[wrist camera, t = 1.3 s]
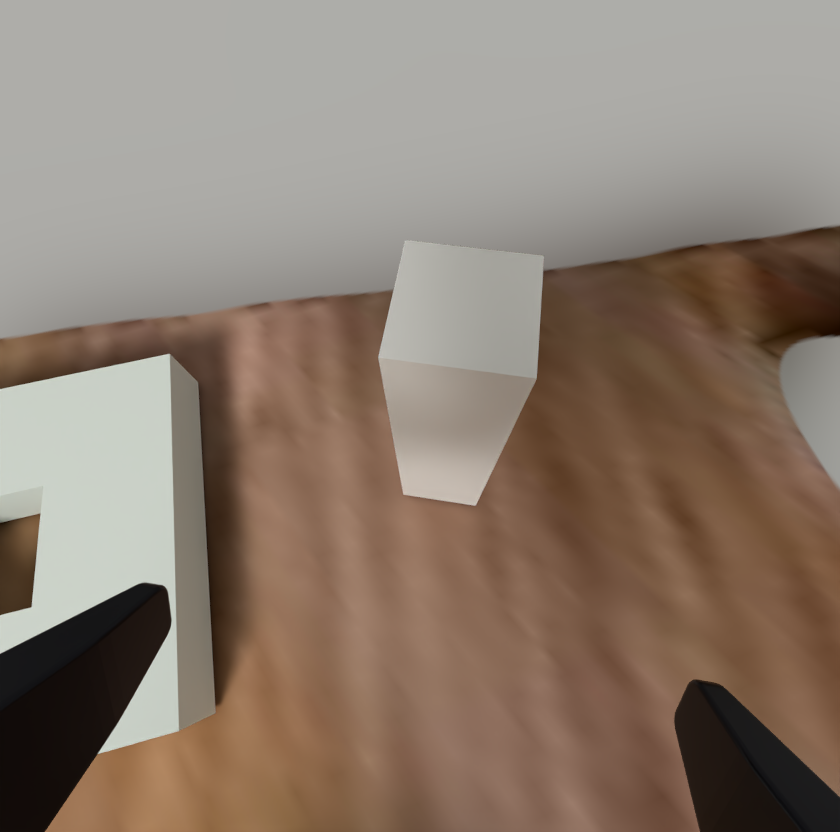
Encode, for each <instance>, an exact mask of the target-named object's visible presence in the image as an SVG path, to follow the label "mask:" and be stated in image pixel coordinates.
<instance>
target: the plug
mask: <svg viewBox="0 0 840 832" xmlns="http://www.w3.org/2000/svg"><path fill="white" fill-rule="evenodd" d="M543 265H544V256H543V255H534V254H525V253H516V252H508V251H498V250H490V249H481V248H472V247H463V246H454V245H445V244H436V243H427V242H419V241H410V240H405V242H404V246H403V251H402V255H401V260H400V264H399V268H398V273H397V277H396V282H395V286H394V290H393V295H392V299H391V304H390V308H389V312H388V317H387V321H386V326H385V330H384V334H383V339H382V343H381V348H380V352H379V356H378V359H379V364H380V370H381V375H382V381H383V386H384V392H385V397H386V403H387V408H388V414H389V419H390V424H391V430H392V435H393V441H394V446H395V452H396V457H397V463H398V468H399V473H400V479H401V484H402V490H403V495H409V496H416V497H422V498H429V499H435V500H442V501H448V502H455V503H461V504H468V505H474V506H476V504H477V502H478V500H479V498H480V496H481V493H482V491H483V489H484V487H485V485H486V483H487V481H488V479H489V477H490V475H491V473H492V471H493V469H494V466H495V464H496V462H497V460H498V458H499V456H500V454H501V452H502V450H503V448H504V446H505V444H506V441H507V439H508V437H509V435H510V433H511V431H512V429H513V427H514V425H515V423H516V421H517V419H518V416H519V414H520V412H521V410H522V408H523V406H524V404H525V402H526V400H527V398H528V396H529V394H530V391H531V389H532V387H533V385H534V383H535V381H536V379H537V365H538V348H539V332H540V315H541V298H542V282H543Z"/></svg>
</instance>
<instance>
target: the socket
mask: <svg viewBox="0 0 840 832" xmlns="http://www.w3.org/2000/svg"><path fill="white" fill-rule="evenodd" d="M40 513H41V515H40V526H39V536H38V546H37V556H36V567H35V577H34V587H33V598H32V607H31V608H27V609H23V610H19V611H15V612H11V613H7V614H3V615H0V653H2V652H4V651H6V650H8V649H10V648H12V647H14V646H16V645H18V644H20V643H22V642H24V641H26V640H28V639H30V638H32V637H34V636H36V635H38V634H40V633H42V632H44V631H46V630H48V629H50V628H52V627H54V626H56V625H58V624H60V623H62V622H64V621H66V620H68V619H70V618H72V617H74V616H76V615H77V614H79V613H81V612H83V611H85V610H87V609H89V608H91V607H93V606H95V605H97V604H99V603H101V602H103V601H105V600H107V599H109V598H111V597H113V596H115V595H117V594H119V593H121V592H123V591H125V590H127V589H129V588H131V587H133V586H135V585H137V584H139V583H144V582H147V583H153V584H159V585H163V586H165V587H166V589H167V590H168V595H169V603H170V610H171V617H172V622H171V628H170V631H169V633H168V635H167V637H166V639H165V641H164V643H163V644H162V646H161V648H160V650H159V651H158V653H157V655H156V657H155V659H154V660H153V662H152V664H151V666H150V668H149V669H148V671H147V673H146V675H145V676H144V678H143V680H142V682H141V684H140V685H139V687H138V689H137V691H136V692H135V694H134V696H133V698H132V700H131V701H130V703H129V705H128V707H127V709H126V710H125V712H124V714H123V715H122V717H121V719H120V720H119V722H118V724H117V725H116V727H115V728H114V730H113V732H112V733H111V735H110V736H109V738H108V739H107V741H106V742H105V744H104V745H103V747H102V748H101V750H100V751H99V753H103V752H106V751H110V750H113V749H117V748H120V747H124V746H127V745H131V744H134V743H138V742H142V741H145V740H149V739H152V738H156V737H159V736H163V735H166V734H170V733H173V732H177V731H180V730H182V729H184V728H186V727H188V726H190V725H192V724H194V723H196V722H198V721H200V720H202V719H205V718H207V717H209V716H211V715H213V714H215V713H216V711H215V692H214V673H213V654H212V635H211V616H210V597H209V578H208V559H207V540H206V521H205V502H204V484H203V465H202V446H201V427H200V408H199V389H198V382H197V381H196V380H195V379H194V378H193V377H192V376H191V375H190V374H189V373H188V372H187V371H186V370H185V369H184V368H183V367H182V366H181V365H180V364H179V363H178V362H177V361H176V359H175V358H174V357H173V356H172V355H171V354H166V355H161V356H157V357H152V358H147V359H142V360H137V361H133V362H128V363H123V364H118V365H114V366H109V367H104V368H99V369H94V370H90V371H85V372H80V373H75V374H70V375H66V376H61V377H56V378H51V379H47V380H42V381H37V382H32V383H27V384H23V385H18V386H13V387H8V388H3V389H0V523H1V522H6V521H10V520H14V519H18V518H23V517H27V516H31V515H35V514H40ZM99 753H98V754H99Z"/></svg>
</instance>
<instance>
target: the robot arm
mask: <svg viewBox="0 0 840 832" xmlns="http://www.w3.org/2000/svg"><path fill="white" fill-rule="evenodd" d="M171 622H172V617H171V610H170V603H169V595H168V590H167V589H166V587H165V586H163V585H159V584H153V583H147V582H144V583H139V584H137V585H135V586H133V587H131V588H129V589H127V590H125V591H123V592H121V593H119V594H117V595H115V596H113V597H111V598H109V599H107V600H105V601H103V602H101V603H99V604H97V605H95V606H93V607H91V608H89V609H87V610H85V611H83V612H81V613H79V614H77V615H76V616H74V617H72V618H70V619H68V620H66V621H64V622H62V623H60V624H58V625H56V626H54V627H52V628H50V629H48V630H46V631H44V632H42V633H40V634H38V635H36V636H34V637H32V638H30V639H28V640H26V641H24V642H22V643H20V644H18V645H16V646H14V647H12V648H10V649H8V650H6V651H4V652H2V653H0V832H45V831H46V829H47V828H48V826H49V825H50V823H51V822H52V820H53V819H54V817H55V816H56V814H57V813H58V812H59V810H60V809H61V807H62V806H63V804H64V803H65V801H66V800H67V798H68V797H69V795H70V794H71V792H72V791H73V789H74V788H75V786H76V785H77V784H78V782H79V781H80V779H81V778H82V776H83V775H84V773H85V772H86V770H87V769H88V767H89V766H90V764H91V763H92V761H93V760H94V758H95V757H96V756H97V754H98V753H99V751H100V750H101V748H102V747H103V745H104V744H105V742H106V741H107V739H108V738H109V736H110V735H111V733H112V732H113V730H114V728H115V727H116V725H117V724H118V722H119V720H120V719H121V717H122V715H123V714H124V712H125V710H126V709H127V707H128V705H129V703H130V701H131V700H132V698H133V696H134V694H135V692H136V691H137V689H138V687H139V685H140V684H141V682H142V680H143V678H144V676H145V675H146V673H147V671H148V669H149V668H150V666H151V664H152V662H153V660H154V659H155V657H156V655H157V653H158V651H159V650H160V648H161V646H162V644H163V643H164V641H165V639H166V637H167V635H168V633H169V631H170V628H171ZM674 723H675V730H676V734H677V738H678V742H679V747H680V751H681V755H682V759H683V763H684V767H685V772H686V776H687V780H688V784H689V788H690V792H691V797H692V801H693V805H694V809H695V813H696V817H697V821H698V825H699V829H700V832H840V797H839V796H838V795H837V794H836V793H835V792H834V791H833V790H832V789H831V788H830V787H829V786H827V785H826V784H825V783H824V782H823V781H822V780H821V779H820V778H819V777H818V776H817V775H816V774H815V773H814V772H813V771H812V770H811V769H810V768H809V767H807V766H806V765H805V764H804V763H803V762H802V761H801V760H800V759H799V758H798V757H797V756H796V755H795V754H794V753H793V752H792V751H791V750H790V749H789V748H787V747H786V746H785V745H784V744H783V743H782V742H781V741H780V740H779V739H778V738H777V737H776V736H775V735H774V734H773V733H772V732H771V731H770V730H769V729H768V728H766V727H765V726H764V725H763V724H762V723H761V722H760V721H759V720H758V719H757V718H756V717H755V716H754V715H753V714H752V713H751V712H750V711H749V710H748V709H746V708H745V707H744V706H743V705H742V704H741V703H740V702H739V701H738V700H737V699H736V698H735V697H734V696H733V695H732V694H731V693H730V692H729V691H728V690H726V689H725V688H724V687H723V686H721V685H720V684H717V683H714V682H708V681H702V680H692V681H691V682H689V684H688V686H687V688H686V690H685V692H684V694H683V696H682V699H681V701H680V703H679V705H678V707H677V709H676V712H675V718H674Z"/></svg>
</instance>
